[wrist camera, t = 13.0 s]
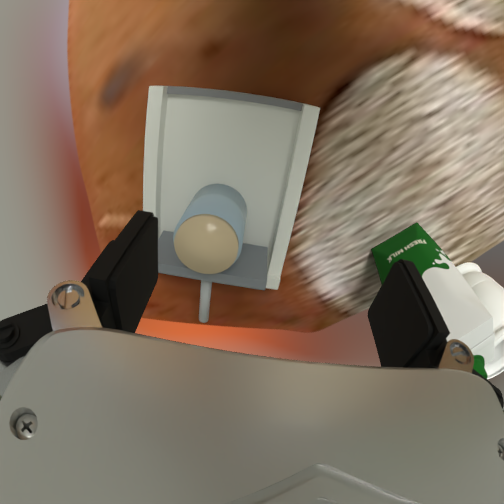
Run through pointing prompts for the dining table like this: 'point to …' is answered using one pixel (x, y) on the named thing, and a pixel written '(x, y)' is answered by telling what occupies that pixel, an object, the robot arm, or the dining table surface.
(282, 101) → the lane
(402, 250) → the milk carton
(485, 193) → the dining table surface
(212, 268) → the glazed jar
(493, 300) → the jar
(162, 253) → the pusher
